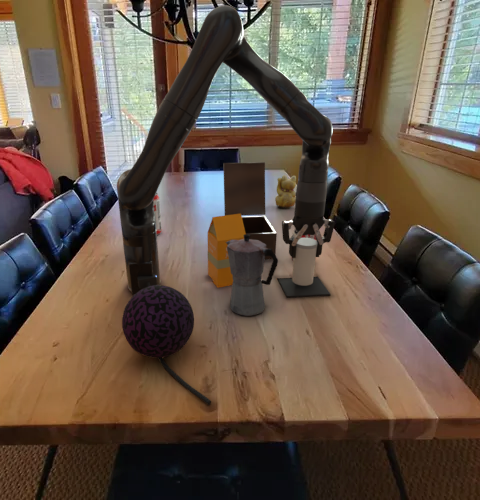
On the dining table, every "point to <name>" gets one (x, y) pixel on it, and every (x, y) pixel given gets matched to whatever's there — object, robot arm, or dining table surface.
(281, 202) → the decorative figurine
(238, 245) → the moka pot
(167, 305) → the toy ball
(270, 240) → the chest
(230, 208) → the lid
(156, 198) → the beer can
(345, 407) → the dining table surface
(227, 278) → the orange juice
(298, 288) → the mat
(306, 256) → the container
